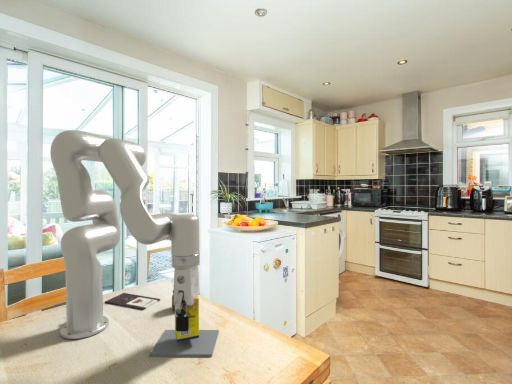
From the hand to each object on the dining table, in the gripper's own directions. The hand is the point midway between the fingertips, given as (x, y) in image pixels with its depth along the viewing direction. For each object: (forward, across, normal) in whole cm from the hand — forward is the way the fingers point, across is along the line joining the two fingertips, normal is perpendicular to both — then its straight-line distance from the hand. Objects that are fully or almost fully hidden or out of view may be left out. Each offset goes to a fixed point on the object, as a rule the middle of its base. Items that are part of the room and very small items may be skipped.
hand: (186, 322), depth 77 cm
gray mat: (+6, 0, 0) cm, 6 cm away
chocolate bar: (+6, +28, +28) cm, 40 cm away
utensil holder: (+6, +22, +8) cm, 24 cm away
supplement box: (+4, 0, 0) cm, 4 cm away
